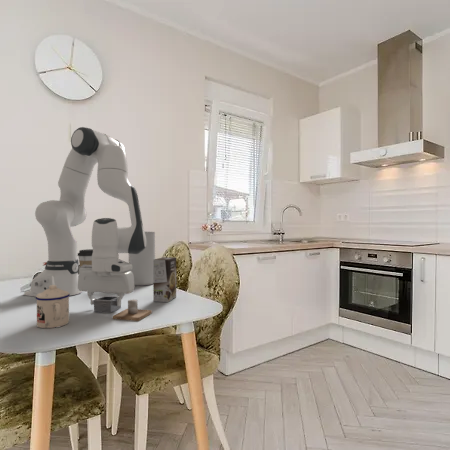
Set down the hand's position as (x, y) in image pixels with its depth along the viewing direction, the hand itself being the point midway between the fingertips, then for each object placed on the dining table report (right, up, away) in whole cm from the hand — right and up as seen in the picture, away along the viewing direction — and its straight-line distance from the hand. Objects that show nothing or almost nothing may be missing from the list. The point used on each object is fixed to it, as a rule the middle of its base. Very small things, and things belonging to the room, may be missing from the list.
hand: (105, 305), depth 119 cm
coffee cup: (-30, -1, +63) cm, 70 cm away
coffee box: (+18, -2, +15) cm, 24 cm away
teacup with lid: (-9, -2, -17) cm, 20 cm away
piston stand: (+11, -2, -8) cm, 14 cm away
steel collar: (+1, -2, 0) cm, 2 cm away
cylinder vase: (+1, -1, +48) cm, 48 cm away
